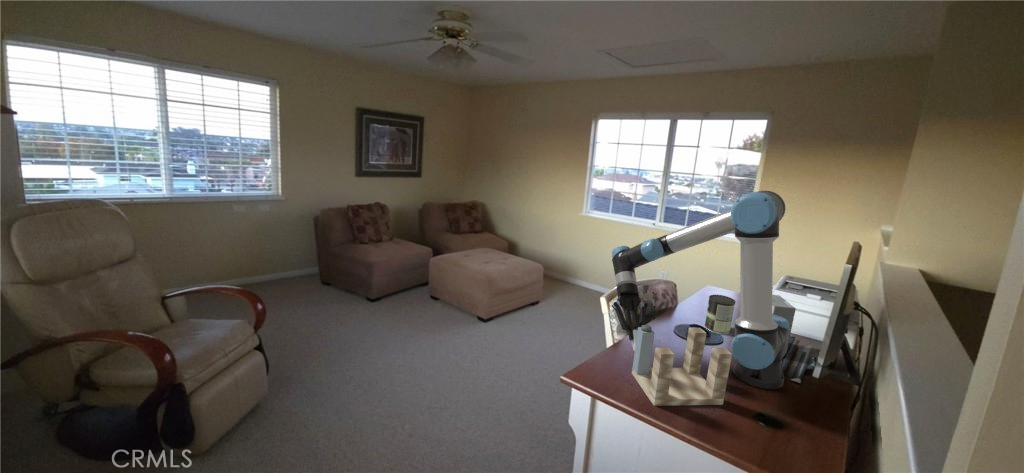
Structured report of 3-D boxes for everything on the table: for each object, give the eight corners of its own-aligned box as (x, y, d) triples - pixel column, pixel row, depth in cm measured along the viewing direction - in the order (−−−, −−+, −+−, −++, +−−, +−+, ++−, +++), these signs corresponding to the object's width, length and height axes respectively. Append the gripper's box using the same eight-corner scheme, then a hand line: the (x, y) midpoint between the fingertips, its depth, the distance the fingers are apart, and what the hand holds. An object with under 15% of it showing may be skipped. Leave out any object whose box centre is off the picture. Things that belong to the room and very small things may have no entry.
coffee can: (700, 328, 183) (705, 298, 180) (709, 322, 190) (714, 292, 187) (725, 336, 176) (731, 305, 173) (733, 329, 184) (738, 299, 180)
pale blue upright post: (643, 367, 144) (649, 324, 140) (648, 374, 140) (655, 330, 136) (632, 367, 143) (638, 324, 140) (637, 374, 140) (643, 329, 136)
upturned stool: (692, 372, 146) (700, 327, 143) (722, 404, 129) (732, 354, 125) (631, 373, 144) (637, 327, 140) (654, 405, 127) (661, 354, 123)
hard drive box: (786, 357, 161) (796, 308, 157) (764, 354, 162) (774, 306, 158) (770, 339, 176) (779, 294, 171) (750, 337, 177) (759, 292, 173)
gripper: (639, 290, 159) (650, 353, 147) (606, 289, 158) (614, 352, 146) (647, 282, 153) (659, 347, 141) (612, 281, 152) (622, 346, 139)
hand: (636, 349), depth 143 cm, fingers closed
